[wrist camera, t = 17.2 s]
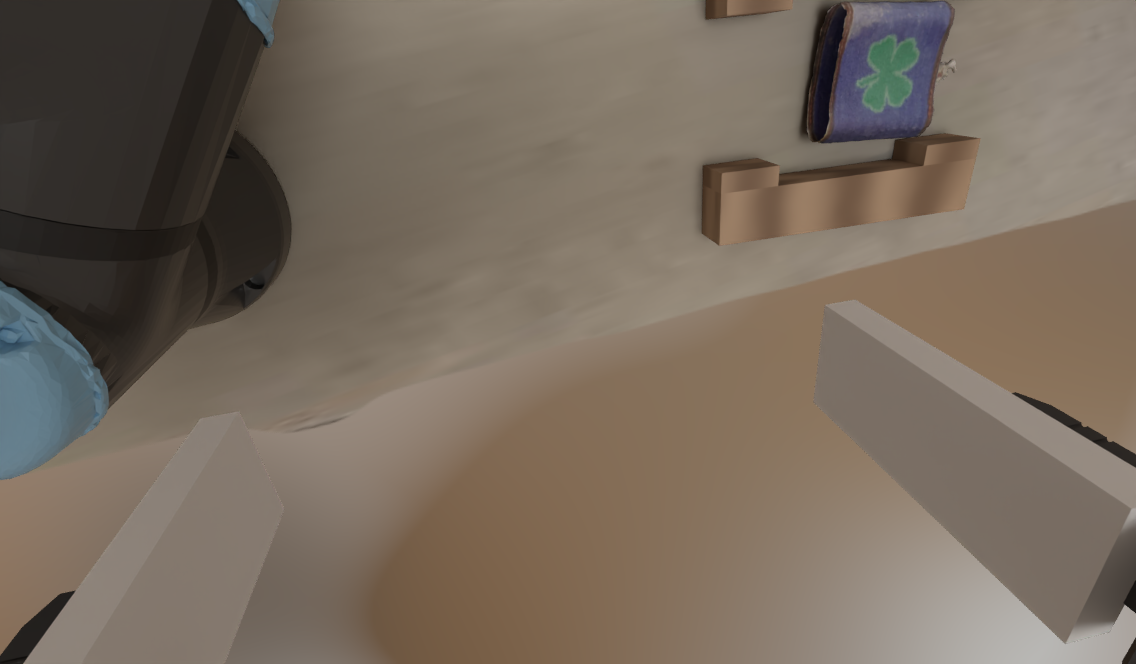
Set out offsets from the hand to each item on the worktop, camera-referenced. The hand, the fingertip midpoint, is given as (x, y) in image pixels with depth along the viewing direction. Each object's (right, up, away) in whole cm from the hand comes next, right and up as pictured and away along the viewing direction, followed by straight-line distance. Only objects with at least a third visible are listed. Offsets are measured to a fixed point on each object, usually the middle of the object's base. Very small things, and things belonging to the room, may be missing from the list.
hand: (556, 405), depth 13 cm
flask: (+19, +21, +30) cm, 41 cm away
